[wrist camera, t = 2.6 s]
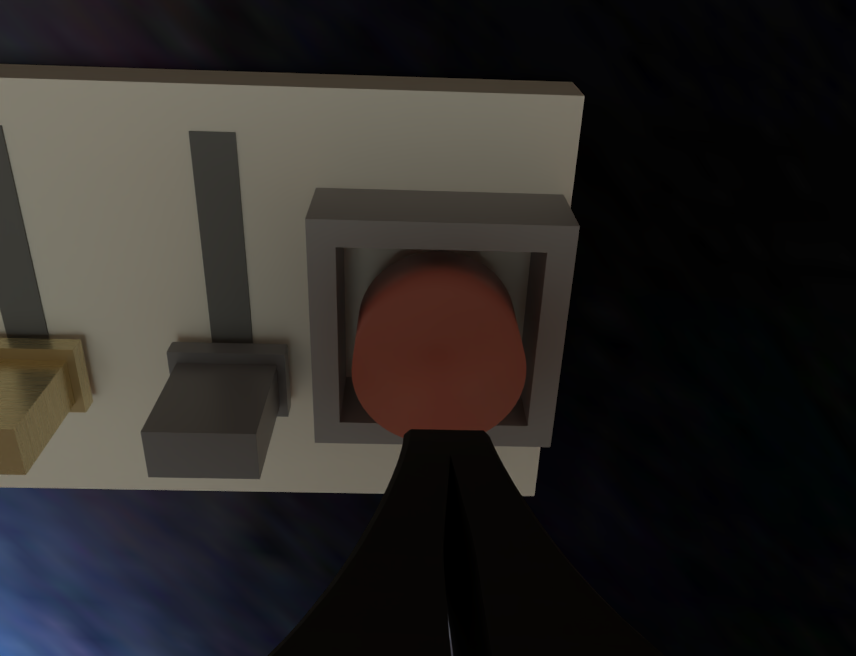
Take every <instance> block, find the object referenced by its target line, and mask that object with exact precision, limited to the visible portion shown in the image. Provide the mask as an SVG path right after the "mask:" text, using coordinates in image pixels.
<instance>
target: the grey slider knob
mask: <svg viewBox="0 0 856 656" xmlns="http://www.w3.org/2000/svg"><path fill="white" fill-rule="evenodd" d="M167 359H168V366H169V373H170V376H169V378H168V380H167V382H166V384H165V386H164V388H163V390H162V392H161V394H160V395H159V397H158V399H157V401H156V403H155V405H154V407H153V409H152V411H151V413H150V415H149V417H148V419H147V420H146V422H145V424H144V426H143V428H142V430H141V438H142V444H143V449H144V455H145V461H146V467H147V473H148V477H159V478H218V479H260V477H261V473H262V470H263V466H264V462H265V459H266V455H267V451H268V448H269V444H270V440H271V436H272V433H273V429H274V425H275V422H276V418H277V416H279V417H288V416H289V412H290V408H291V396H290V379H289V362H288V345H287V344H252V343H206V342H172V343H171V345H170V347H169V348H168V350H167Z"/></svg>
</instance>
